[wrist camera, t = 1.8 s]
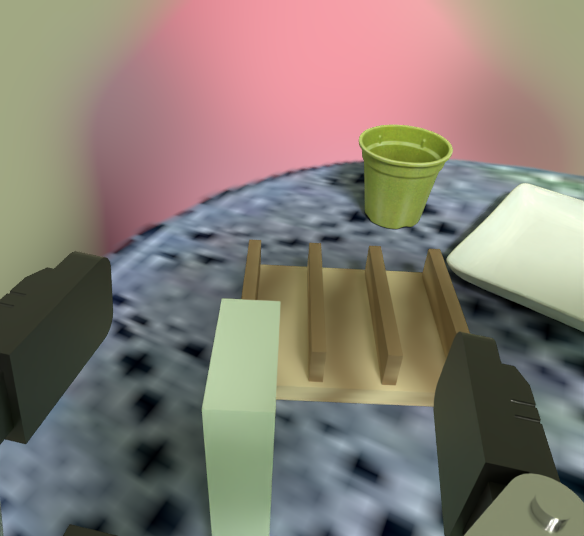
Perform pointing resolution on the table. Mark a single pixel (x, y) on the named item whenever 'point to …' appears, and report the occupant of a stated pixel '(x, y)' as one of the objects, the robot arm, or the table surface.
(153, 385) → the table surface
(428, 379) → the drying rack
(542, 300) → the salad plate
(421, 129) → the plant pot
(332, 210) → the table surface
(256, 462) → the pale green block
